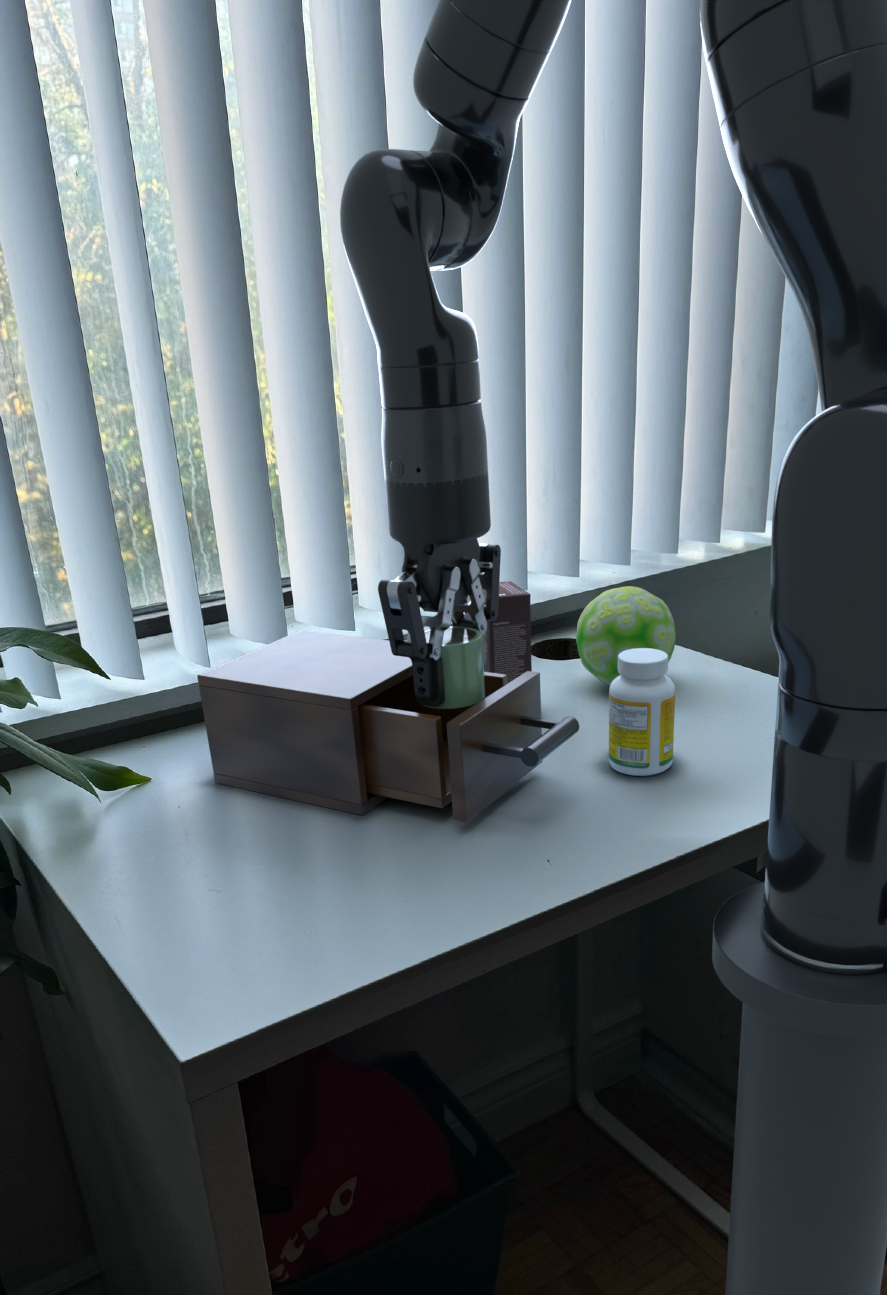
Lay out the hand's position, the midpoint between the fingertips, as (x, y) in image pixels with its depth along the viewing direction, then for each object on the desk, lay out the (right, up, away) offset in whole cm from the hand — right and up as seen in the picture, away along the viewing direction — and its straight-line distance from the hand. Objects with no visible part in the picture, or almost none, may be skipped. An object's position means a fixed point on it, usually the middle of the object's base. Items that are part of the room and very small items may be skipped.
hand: (451, 691), depth 85 cm
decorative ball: (+18, +3, +25) cm, 30 cm away
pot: (0, 0, 0) cm, 1 cm away
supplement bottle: (+16, -6, +6) cm, 18 cm away
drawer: (0, -7, +3) cm, 8 cm away
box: (+5, 0, +20) cm, 21 cm away
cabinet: (-10, -6, +10) cm, 15 cm away
